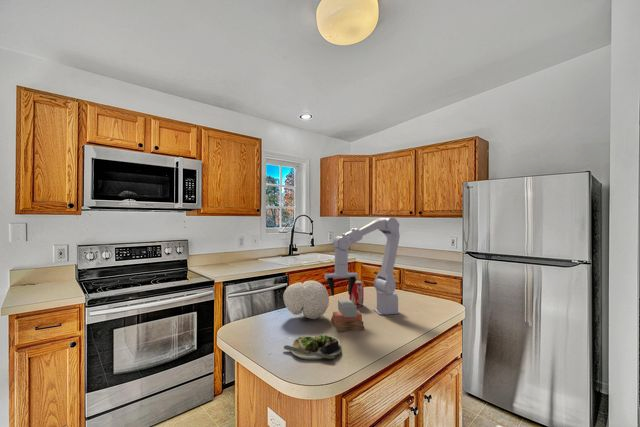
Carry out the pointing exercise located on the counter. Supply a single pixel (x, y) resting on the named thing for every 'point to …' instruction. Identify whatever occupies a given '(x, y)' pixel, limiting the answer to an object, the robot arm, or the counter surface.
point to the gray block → (347, 308)
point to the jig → (349, 325)
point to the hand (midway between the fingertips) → (341, 294)
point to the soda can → (357, 293)
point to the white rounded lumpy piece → (307, 299)
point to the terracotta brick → (340, 318)
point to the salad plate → (315, 347)
